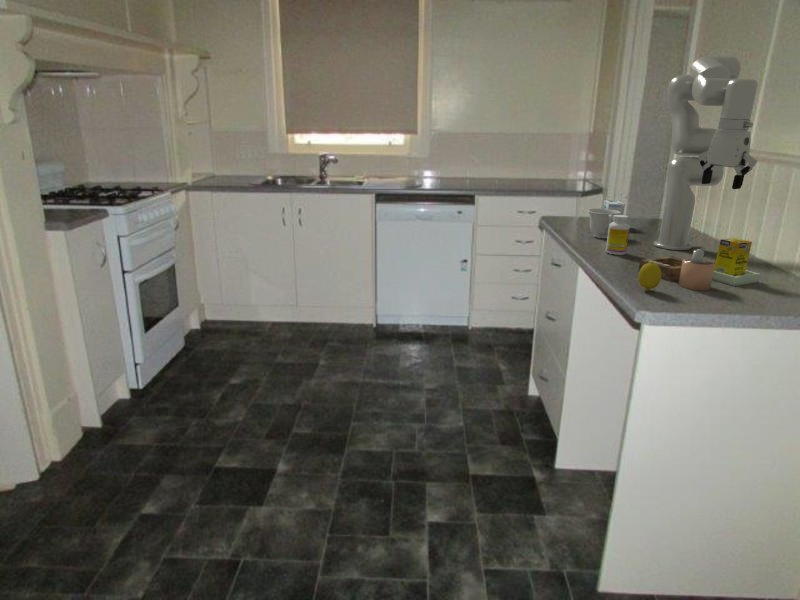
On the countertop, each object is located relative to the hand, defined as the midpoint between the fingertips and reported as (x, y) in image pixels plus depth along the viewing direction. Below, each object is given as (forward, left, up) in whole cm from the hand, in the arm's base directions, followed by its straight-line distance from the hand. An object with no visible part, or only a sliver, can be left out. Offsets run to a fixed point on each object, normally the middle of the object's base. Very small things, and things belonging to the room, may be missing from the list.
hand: (720, 186), depth 168 cm
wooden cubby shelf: (+14, -1, -25) cm, 29 cm away
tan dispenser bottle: (+19, +11, -25) cm, 34 cm away
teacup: (-7, -49, -26) cm, 56 cm away
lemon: (+35, +9, -26) cm, 45 cm away
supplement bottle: (+9, -27, -26) cm, 38 cm away
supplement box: (+3, +10, -25) cm, 27 cm away
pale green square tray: (+3, +10, -25) cm, 28 cm away
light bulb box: (-27, -64, -26) cm, 74 cm away
